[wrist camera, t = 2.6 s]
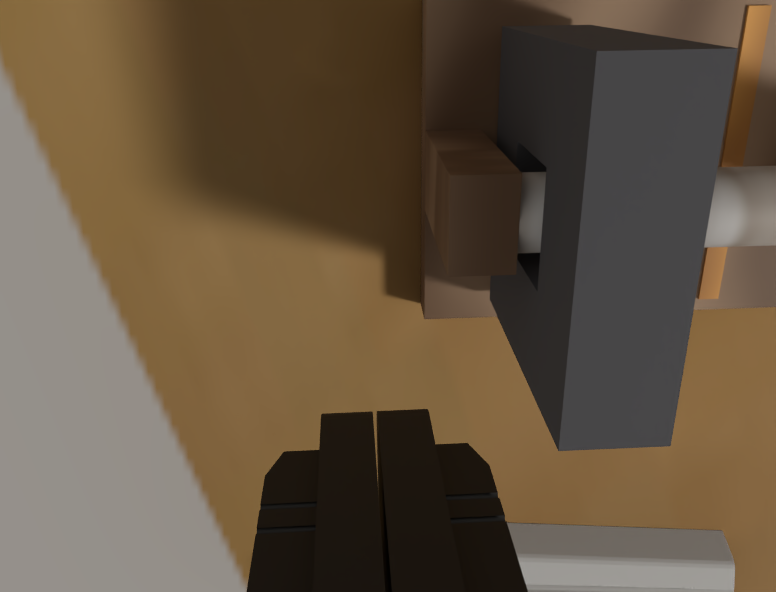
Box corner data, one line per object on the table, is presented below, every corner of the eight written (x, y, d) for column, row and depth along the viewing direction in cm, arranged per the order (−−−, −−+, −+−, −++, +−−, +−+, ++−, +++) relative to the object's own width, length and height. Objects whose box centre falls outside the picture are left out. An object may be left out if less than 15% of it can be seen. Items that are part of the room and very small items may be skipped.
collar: (590, 24, 24) (737, 48, 15) (565, 296, 28) (670, 446, 19) (502, 26, 24) (596, 51, 15) (489, 299, 28) (558, 450, 19)
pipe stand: (887, -13, 26) (1112, -13, 18) (814, 290, 31) (969, 391, 23) (422, -6, 25) (454, -2, 18) (420, 303, 30) (446, 412, 23)
